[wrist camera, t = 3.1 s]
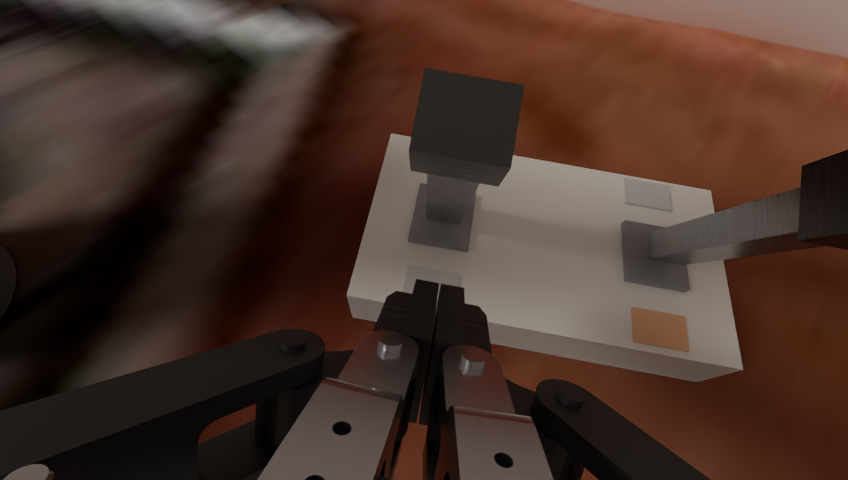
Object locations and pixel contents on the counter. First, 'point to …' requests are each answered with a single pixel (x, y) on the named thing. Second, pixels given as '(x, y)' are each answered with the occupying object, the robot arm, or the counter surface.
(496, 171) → the lever
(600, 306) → the switch unit
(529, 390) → the robot arm
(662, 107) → the counter surface
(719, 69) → the counter surface
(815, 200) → the lever
